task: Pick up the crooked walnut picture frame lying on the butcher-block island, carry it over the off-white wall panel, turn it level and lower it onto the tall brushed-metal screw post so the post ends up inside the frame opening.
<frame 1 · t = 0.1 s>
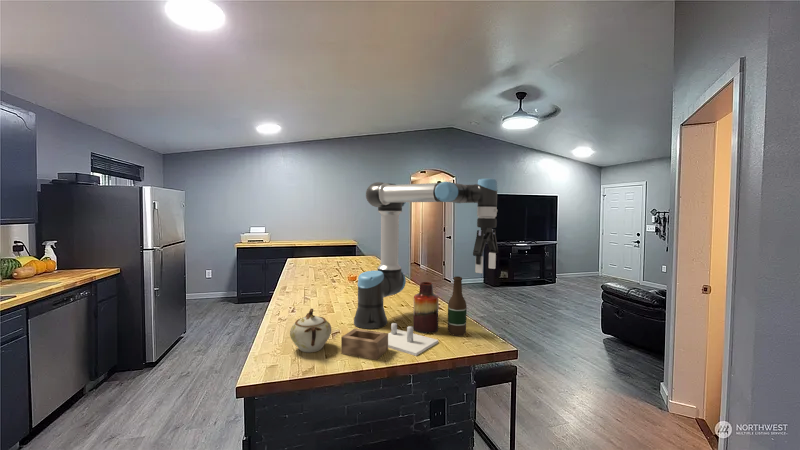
hand: (485, 270, 138), 28 cm above the worktop, fingers open, 13 cm apart
sugar bowl: (310, 348, 128), on the worktop
beer bottle: (456, 333, 146), on the worktop
frame: (365, 351, 126), on the worktop
vase: (425, 329, 151), on the worktop
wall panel: (405, 342, 135), on the worktop
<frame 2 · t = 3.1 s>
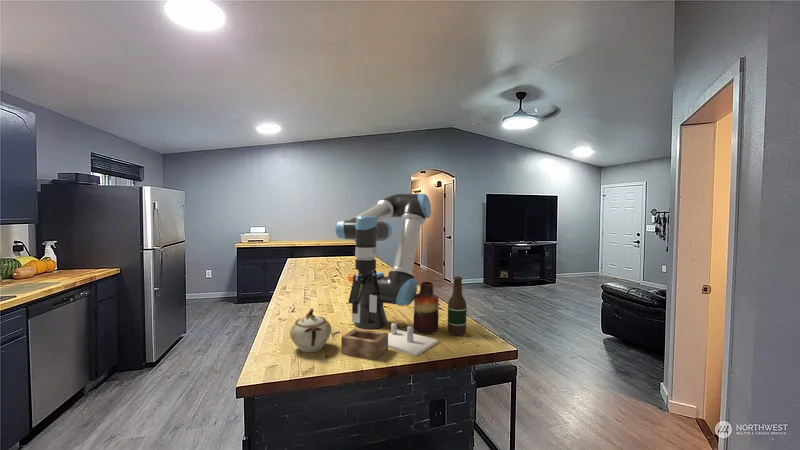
hand: (364, 317, 125), 13 cm above the worktop, fingers open, 13 cm apart
vase: (425, 329, 151), on the worktop, touching arm
everything else where it was.
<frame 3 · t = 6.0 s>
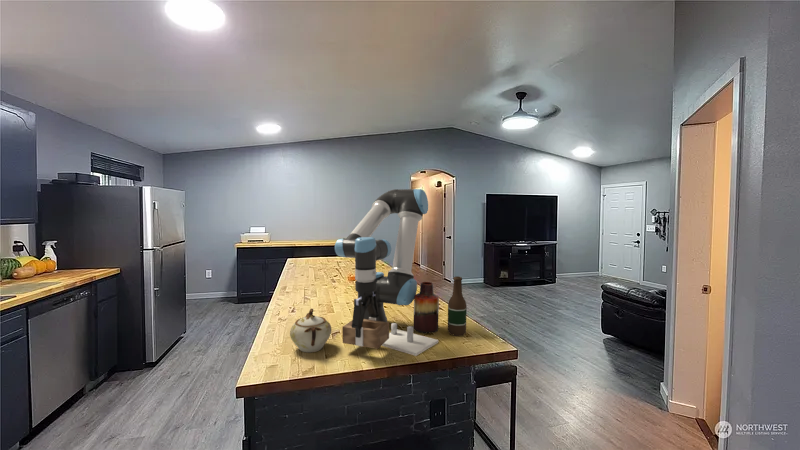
hand: (366, 339, 127), 4 cm above the worktop, fingers closed on frame, 10 cm apart
frame: (366, 340, 127), point 4 cm above the worktop, touching gripper
everything else where it was.
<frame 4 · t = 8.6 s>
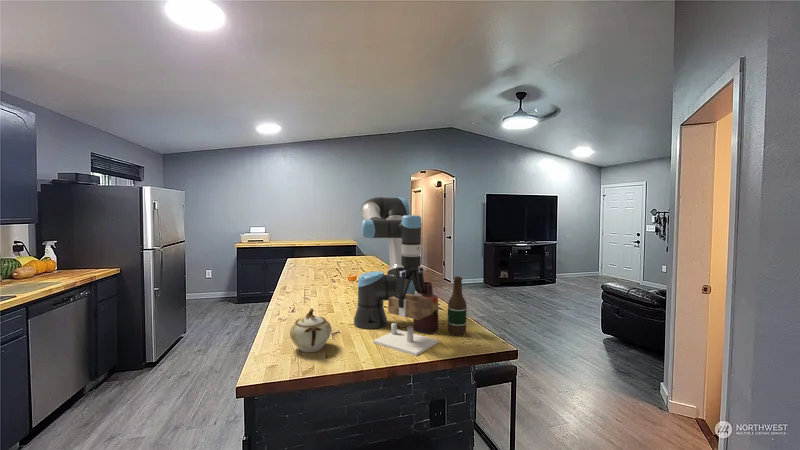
hand: (410, 312, 133), 12 cm above the worktop, fingers closed on frame, 10 cm apart
frame: (410, 313, 133), point 12 cm above the worktop, touching gripper
vase: (425, 329, 151), on the worktop
everything else where it was.
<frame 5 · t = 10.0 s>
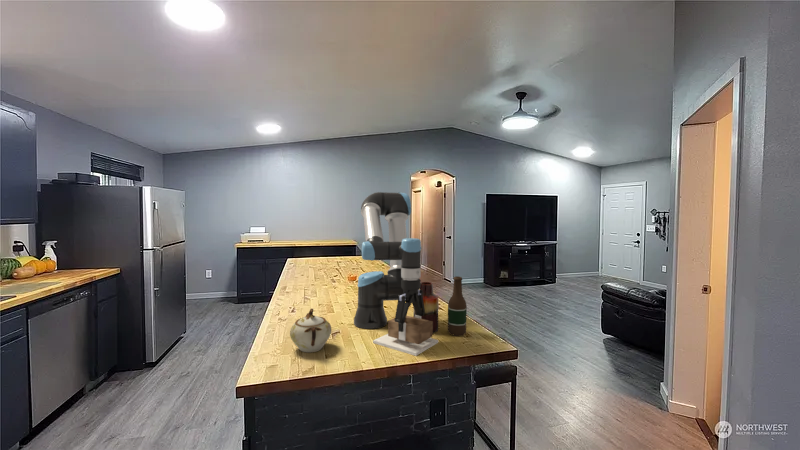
hand: (410, 335, 133), 3 cm above the worktop, fingers closed on frame, 10 cm apart
frame: (410, 336, 133), point 3 cm above the worktop, touching gripper
everything else where it was.
when the fingers open (2 cm above the worktop, at t = 11.1 s): frame drops 1 cm, resting on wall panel.
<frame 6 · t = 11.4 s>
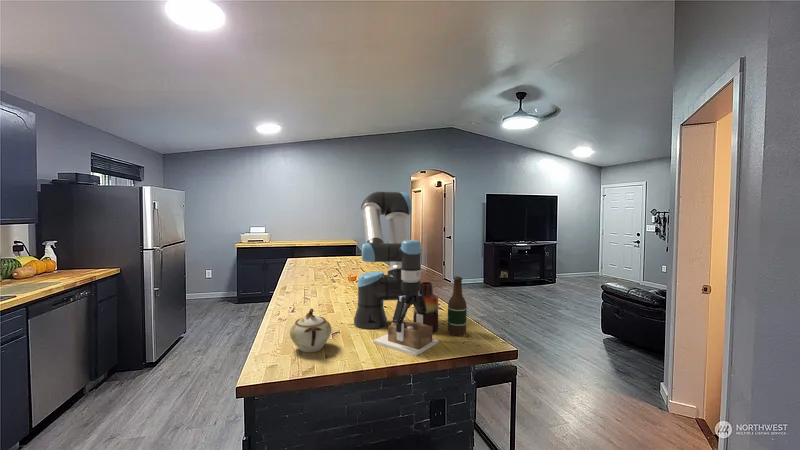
hand: (410, 335, 134), 3 cm above the worktop, fingers open, 13 cm apart
frame: (410, 341, 134), point 1 cm above the worktop, touching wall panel
everything else where it was.
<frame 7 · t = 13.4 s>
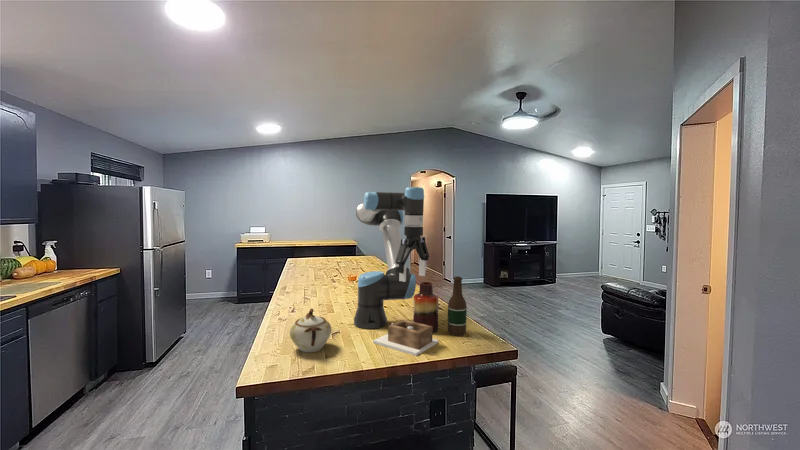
hand: (412, 278, 139), 24 cm above the worktop, fingers open, 13 cm apart
nothing on the worktop moved.
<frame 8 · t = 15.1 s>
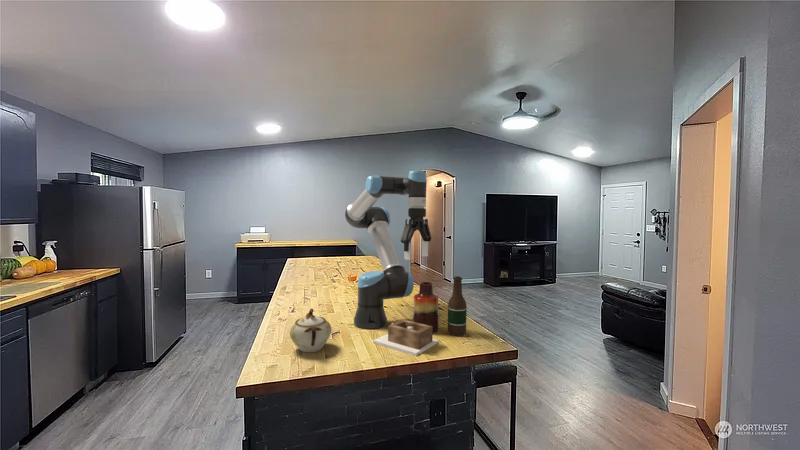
hand: (416, 257, 146), 32 cm above the worktop, fingers open, 13 cm apart
nothing on the worktop moved.
at the end: frame 0.0 cm from the target spot on the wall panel, point 1.0 cm above the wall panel's base; frame tilted 0°; the gripper is holding nothing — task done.
